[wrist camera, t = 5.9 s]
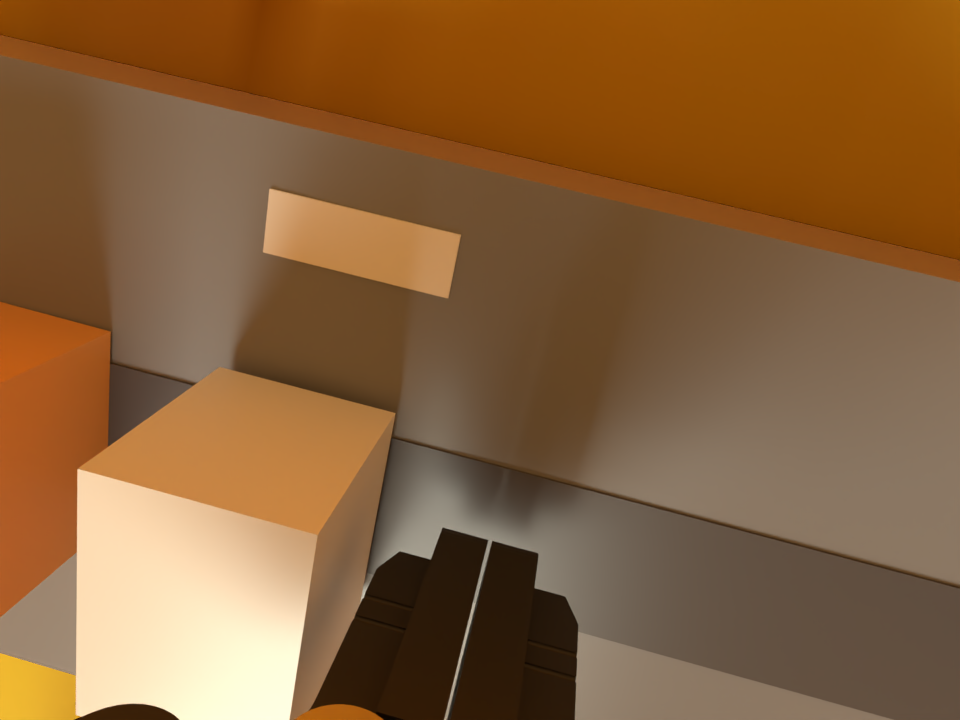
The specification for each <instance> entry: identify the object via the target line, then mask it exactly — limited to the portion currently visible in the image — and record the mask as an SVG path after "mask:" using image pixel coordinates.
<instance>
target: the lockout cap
mask: <svg viewBox="0 0 960 720" xmlns="http://www.w3.org/2000/svg"><path fill="white" fill-rule="evenodd" d="M110 338H111V331H107V330H103V329H100V328H96V327H92V326H88V325H85V324H81V323H77V322H74V321H70V320H66V319H62V318H59V317H55V316H51V315H48V314H44V313H40V312H36V311H33V310H29V309H25V308H21V307H18V306H14V305H10V304H7V303H3V302H0V617H1V616H2V615H4V614H5V613H6V612H7V611H8V610H10V609H11V608H12V607H13V606H14V605H15V604H17V603H18V602H19V601H20V600H21V599H22V598H24V597H25V596H26V595H27V594H28V593H29V592H31V591H32V590H33V589H34V588H35V587H36V586H38V585H39V584H40V583H41V582H42V581H44V580H45V579H46V578H47V577H48V576H49V575H51V574H52V573H53V572H54V571H55V570H56V569H58V568H59V567H60V566H61V565H62V564H63V563H65V562H66V561H67V560H68V559H69V558H71V557H72V556H73V555H74V554H75V553H76V552H77V474H78V468H79V467H81V466H82V465H83V464H85V463H86V462H88V461H89V460H90V459H92V458H93V457H95V456H96V455H97V454H99V453H100V452H102V451H103V450H104V449H106V448H107V447H108V420H109V379H110Z"/></svg>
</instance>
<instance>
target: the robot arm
mask: <svg viewBox="0 0 960 720" xmlns="http://www.w3.org/2000/svg"><path fill="white" fill-rule="evenodd" d="M487 543H488V540H487V539H483V538H480V537H476V536H472V535H469V534H465V533H461V532H458V531H454V530H450V529H447V528H442V530H441V533H440V536H439V538H438V541H437V544H436V547H435V550H434V552H433V555H432V558H431V560H430V559H427V558H423V557H419V556H416V555H412V554H409V553H405V552H401V551H399V552H398V553H397V554H395V555H394V556H393V557H391V558H390V559H389V560H387V561H386V562H385V563H383V564H382V565H381V566H379V567H378V568H377V569H376V571H375V573H374V575H373V577H372V579H371V582H370V584H369V586H368V588H367V590H366V592H365V595H364V598H363V599H362V601H361V603H360V605H359V607H358V609H357V612H356V614H355V617H354V620H352V622H351V624H350V627H349V629H348V631H347V633H346V635H345V637H344V639H343V642H342V644H341V646H340V648H339V650H338V652H337V654H336V657H335V659H334V661H333V663H332V665H331V667H330V669H329V672H328V674H327V676H326V678H325V680H324V682H323V684H322V687H321V689H320V691H319V693H318V695H317V697H316V699H315V701H314V703H313V705H312V706H311V708H310V709H309V711H307V712H305V713H303V714H302V715H300V716H299V717H297V718H296V719H294V720H444V718H445V714H446V710H447V706H448V702H449V698H450V694H451V690H452V686H453V682H454V678H455V674H456V669H457V665H458V661H459V657H460V653H461V649H462V645H463V641H464V637H465V633H466V629H467V625H468V621H469V617H470V613H471V609H472V604H473V600H474V596H475V592H476V588H477V584H478V580H479V576H480V572H481V568H482V564H483V560H484V556H485V552H486V548H487ZM537 564H538V553H535V552H532V551H528V550H524V549H521V548H517V547H513V546H510V545H506V544H502V543H499V542H495V541H492V544H491V547H490V551H489V555H488V559H487V563H486V567H485V570H484V574H483V578H482V582H481V586H480V590H479V593H478V597H477V601H476V605H475V609H474V613H473V616H472V620H471V624H470V628H469V632H468V636H467V640H466V644H465V648H464V652H463V656H462V660H461V664H460V668H459V672H458V676H457V681H456V685H455V689H454V693H453V697H452V701H451V705H450V710H449V714H448V718H447V720H575V702H576V682H575V681H576V675H577V658H576V656H577V648H578V623H577V620H576V618H575V616H574V614H573V612H572V610H571V608H570V605H569V603H568V601H567V599H566V597H565V596H562V595H558V594H554V593H551V592H547V591H543V590H540V589H536V588H534V587H535V580H536V572H537ZM75 720H179V719H178V718H177V717H176V716H175V715H173V714H172V713H170V712H168V711H166V710H165V709H162V708H159V707H156V706H152V705H146V704H121V705H115V706H110V707H106V708H103V709H100V710H97V711H94V712H92V713H89V714H87V715H85V716H82V717H80V718H77V719H75Z"/></svg>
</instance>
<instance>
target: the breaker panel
mask: <svg viewBox="0 0 960 720" xmlns="http://www.w3.org/2000/svg"><path fill="white" fill-rule="evenodd" d="M0 302H3V303H7V304H10V305H14V306H18V307H21V308H25V309H29V310H33V311H36V312H40V313H44V314H48V315H51V316H55V317H59V318H62V319H66V320H70V321H74V322H77V323H81V324H85V325H88V326H92V327H96V328H100V329H103V330H107V331H111V338H110V379H109V420H108V447H109V446H110V445H111V444H113V443H114V442H116V441H117V440H118V439H120V438H121V437H123V436H124V435H125V434H127V433H128V432H130V431H131V430H132V429H134V428H135V427H137V426H138V425H139V424H141V423H142V422H143V421H145V420H146V419H148V418H149V417H150V416H152V415H153V414H155V413H156V412H157V411H159V410H160V409H162V408H163V407H164V406H166V405H167V404H169V403H170V402H171V401H173V400H174V399H176V398H177V397H178V396H180V395H181V394H183V393H184V392H185V391H187V390H188V389H190V388H191V387H192V386H194V385H195V384H197V383H198V382H199V381H201V380H202V379H204V378H205V377H206V376H208V375H209V374H210V373H212V372H213V371H215V370H216V369H217V368H219V367H222V368H226V369H230V370H233V371H237V372H241V373H245V374H249V375H252V376H256V377H260V378H264V379H268V380H271V381H275V382H279V383H283V384H287V385H291V386H294V387H298V388H302V389H306V390H310V391H313V392H317V393H321V394H325V395H329V396H332V397H336V398H340V399H344V400H348V401H351V402H355V403H359V404H363V405H367V406H371V407H374V408H378V409H382V410H386V411H390V412H393V413H396V414H395V419H394V424H393V430H392V435H391V441H390V446H389V451H388V457H387V462H386V467H385V473H384V478H383V483H382V489H381V494H380V500H379V505H378V510H377V516H376V521H375V526H374V532H373V537H372V542H371V548H370V553H369V559H368V564H367V569H366V575H365V580H364V585H363V591H362V596H361V601H362V599H363V598H364V595H365V592H366V590H367V588H368V586H369V584H370V582H371V579H372V577H373V575H374V573H375V571H376V569H377V568H378V567H379V566H381V565H382V564H383V563H385V562H386V561H387V560H389V559H390V558H391V557H393V556H394V555H395V554H397V553H398V552H399V551H401V552H405V553H409V554H412V555H416V556H419V557H423V558H427V559H430V560H431V558H432V555H433V552H434V550H435V547H436V544H437V541H438V538H439V536H440V533H441V530H442V528H447V529H450V530H454V531H458V532H461V533H465V534H469V535H472V536H476V537H480V538H483V539H487V540H488V543H487V548H486V552H485V556H484V560H483V564H482V568H481V572H480V576H479V580H478V584H477V588H476V592H475V596H474V600H473V604H472V609H471V613H470V617H469V621H468V625H467V629H466V633H465V637H464V641H463V645H462V649H461V653H460V657H459V661H458V665H457V669H456V674H455V678H454V682H453V686H452V690H451V694H450V698H449V702H448V706H447V710H446V714H445V718H444V720H447V718H448V714H449V710H450V705H451V701H452V697H453V693H454V689H455V685H456V681H457V676H458V672H459V668H460V664H461V660H462V656H463V652H464V648H465V644H466V640H467V636H468V632H469V628H470V624H471V620H472V616H473V613H474V609H475V605H476V601H477V597H478V593H479V590H480V586H481V582H482V578H483V574H484V570H485V567H486V563H487V559H488V555H489V551H490V547H491V544H492V541H495V542H499V543H502V544H506V545H510V546H513V547H517V548H521V549H524V550H528V551H532V552H535V553H538V564H537V572H536V580H535V587H534V588H536V589H540V590H543V591H547V592H551V593H554V594H558V595H562V596H565V597H566V599H567V601H568V603H569V605H570V608H571V610H572V612H573V614H574V616H575V618H576V620H577V623H578V648H577V656H576V658H577V675H576V681H575V682H576V702H575V720H960V260H957V259H953V258H948V257H944V256H940V255H936V254H931V253H927V252H923V251H919V250H914V249H910V248H906V247H902V246H897V245H893V244H889V243H884V242H880V241H876V240H872V239H867V238H863V237H859V236H855V235H850V234H846V233H842V232H838V231H833V230H829V229H825V228H821V227H816V226H812V225H808V224H804V223H799V222H795V221H791V220H787V219H782V218H778V217H774V216H770V215H765V214H761V213H757V212H752V211H748V210H744V209H740V208H735V207H731V206H727V205H723V204H718V203H714V202H710V201H706V200H701V199H697V198H693V197H689V196H684V195H680V194H676V193H672V192H667V191H663V190H659V189H655V188H650V187H646V186H642V185H638V184H633V183H629V182H625V181H620V180H616V179H612V178H608V177H603V176H599V175H595V174H591V173H586V172H582V171H578V170H574V169H569V168H565V167H561V166H557V165H552V164H548V163H544V162H540V161H535V160H531V159H527V158H523V157H518V156H514V155H510V154H506V153H501V152H497V151H493V150H488V149H484V148H480V147H476V146H471V145H467V144H463V143H459V142H454V141H450V140H446V139H442V138H437V137H433V136H429V135H425V134H420V133H416V132H412V131H408V130H403V129H399V128H395V127H391V126H386V125H382V124H378V123H374V122H369V121H365V120H361V119H356V118H352V117H348V116H344V115H339V114H335V113H331V112H327V111H322V110H318V109H314V108H310V107H305V106H301V105H297V104H293V103H288V102H284V101H280V100H276V99H271V98H267V97H263V96H259V95H254V94H250V93H246V92H242V91H237V90H233V89H229V88H224V87H220V86H216V85H212V84H207V83H203V82H199V81H195V80H190V79H186V78H182V77H178V76H173V75H169V74H165V73H161V72H156V71H152V70H148V69H144V68H139V67H135V66H131V65H127V64H122V63H118V62H114V61H110V60H105V59H101V58H97V57H92V56H88V55H84V54H80V53H75V52H71V51H67V50H63V49H58V48H54V47H50V46H46V45H41V44H37V43H33V42H29V41H24V40H20V39H16V38H12V37H7V36H3V35H0ZM361 601H360V603H361ZM76 616H77V552H76V553H75V554H74V555H73V556H72V557H71V558H69V559H68V560H67V561H66V562H65V563H63V564H62V565H61V566H60V567H59V568H58V569H56V570H55V571H54V572H53V573H52V574H51V575H49V576H48V577H47V578H46V579H45V580H44V581H42V582H41V583H40V584H39V585H38V586H36V587H35V588H34V589H33V590H32V591H31V592H29V593H28V594H27V595H26V596H25V597H24V598H22V599H21V600H20V601H19V602H18V603H17V604H15V605H14V606H13V607H12V608H11V609H10V610H8V611H7V612H6V613H5V614H4V615H2V616H1V617H0V653H2V654H6V655H9V656H12V657H16V658H19V659H22V660H26V661H29V662H32V663H36V664H39V665H43V666H46V667H49V668H53V669H56V670H59V671H63V672H66V673H69V674H73V675H76Z"/></svg>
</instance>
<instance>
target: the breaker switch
mask: <svg viewBox="0 0 960 720" xmlns="http://www.w3.org/2000/svg"><path fill="white" fill-rule="evenodd" d="M395 414H396V413H393V412H390V411H386V410H382V409H378V408H374V407H371V406H367V405H363V404H359V403H355V402H351V401H348V400H344V399H340V398H336V397H332V396H329V395H325V394H321V393H317V392H313V391H310V390H306V389H302V388H298V387H294V386H291V385H287V384H283V383H279V382H275V381H271V380H268V379H264V378H260V377H256V376H252V375H249V374H245V373H241V372H237V371H233V370H230V369H226V368H222V367H219V368H217V369H216V370H215V371H213V372H212V373H210V374H209V375H208V376H206V377H205V378H204V379H202V380H201V381H199V382H198V383H197V384H195V385H194V386H192V387H191V388H190V389H188V390H187V391H185V392H184V393H183V394H181V395H180V396H178V397H177V398H176V399H174V400H173V401H171V402H170V403H169V404H167V405H166V406H164V407H163V408H162V409H160V410H159V411H157V412H156V413H155V414H153V415H152V416H150V417H149V418H148V419H146V420H145V421H143V422H142V423H141V424H139V425H138V426H137V427H135V428H134V429H132V430H131V431H130V432H128V433H127V434H125V435H124V436H123V437H121V438H120V439H118V440H117V441H116V442H114V443H113V444H111V445H110V446H109V447H107V448H106V449H104V450H103V451H102V452H100V453H99V454H97V455H96V456H95V457H93V458H92V459H90V460H89V461H88V462H86V463H85V464H83V465H82V466H81V467H79V468H78V474H77V616H76V715H78V716H81V717H82V716H85V715H87V714H89V713H92V712H94V711H97V710H100V709H103V708H106V707H110V706H115V705H121V704H146V705H152V706H156V707H159V708H162V709H165V710H166V711H168V712H170V713H172V714H173V715H175V716H176V717H177V718H178V719H179V720H294V719H296V718H297V717H299V716H300V715H302V714H303V713H305V712H307V711H309V709H310V708H311V706H312V705H313V703H314V701H315V699H316V697H317V695H318V693H319V691H320V689H321V687H322V684H323V682H324V680H325V678H326V676H327V674H328V672H329V669H330V667H331V665H332V663H333V661H334V659H335V657H336V654H337V652H338V650H339V648H340V646H341V644H342V642H343V639H344V637H345V635H346V633H347V631H348V629H349V627H350V624H351V622H352V620H354V617H355V614H356V612H357V609H358V607H359V605H360V601H361V596H362V591H363V585H364V580H365V575H366V569H367V564H368V559H369V553H370V548H371V542H372V537H373V532H374V526H375V521H376V516H377V510H378V505H379V500H380V494H381V489H382V483H383V478H384V473H385V467H386V462H387V457H388V451H389V446H390V441H391V435H392V430H393V424H394V419H395Z"/></svg>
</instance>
